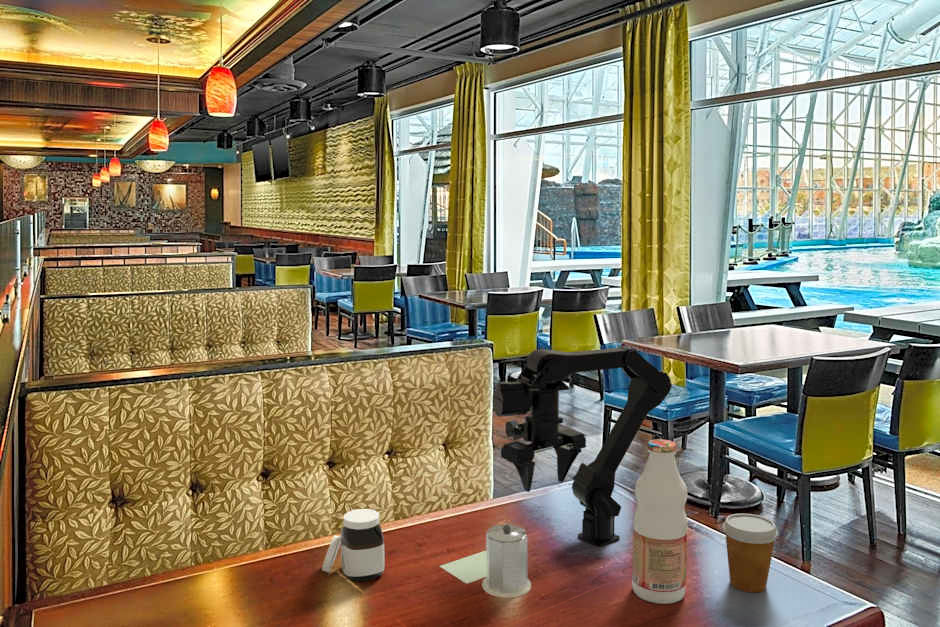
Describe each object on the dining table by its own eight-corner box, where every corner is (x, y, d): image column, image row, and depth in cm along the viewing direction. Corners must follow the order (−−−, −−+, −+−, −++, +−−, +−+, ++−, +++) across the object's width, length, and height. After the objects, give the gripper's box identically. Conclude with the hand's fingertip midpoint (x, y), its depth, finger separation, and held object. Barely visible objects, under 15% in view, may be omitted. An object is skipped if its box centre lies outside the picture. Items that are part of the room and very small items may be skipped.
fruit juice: (621, 589, 138) (623, 441, 134) (655, 575, 143) (658, 432, 140) (661, 611, 130) (665, 454, 127) (696, 594, 136) (701, 444, 132)
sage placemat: (499, 547, 156) (499, 545, 156) (527, 562, 149) (527, 561, 149) (439, 567, 147) (439, 566, 147) (466, 585, 140) (466, 583, 140)
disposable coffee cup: (774, 576, 142) (776, 515, 141) (776, 600, 134) (779, 536, 132) (721, 569, 146) (723, 509, 144) (720, 592, 137) (722, 529, 135)
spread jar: (389, 581, 142) (388, 521, 141) (330, 592, 138) (328, 531, 136) (372, 555, 153) (371, 500, 152) (317, 565, 149) (315, 508, 147)
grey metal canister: (501, 571, 144) (501, 514, 143) (533, 581, 140) (533, 523, 139) (479, 585, 139) (479, 526, 137) (512, 596, 134) (512, 536, 133)
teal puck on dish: (509, 571, 146) (509, 555, 145) (541, 589, 138) (541, 572, 138) (472, 584, 140) (472, 568, 140) (503, 604, 133) (503, 587, 133)
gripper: (551, 398, 165) (550, 467, 166) (483, 411, 153) (484, 485, 155) (588, 408, 156) (587, 480, 158) (519, 423, 145) (519, 501, 147)
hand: (544, 486), depth 155 cm, fingers open, 9 cm apart
